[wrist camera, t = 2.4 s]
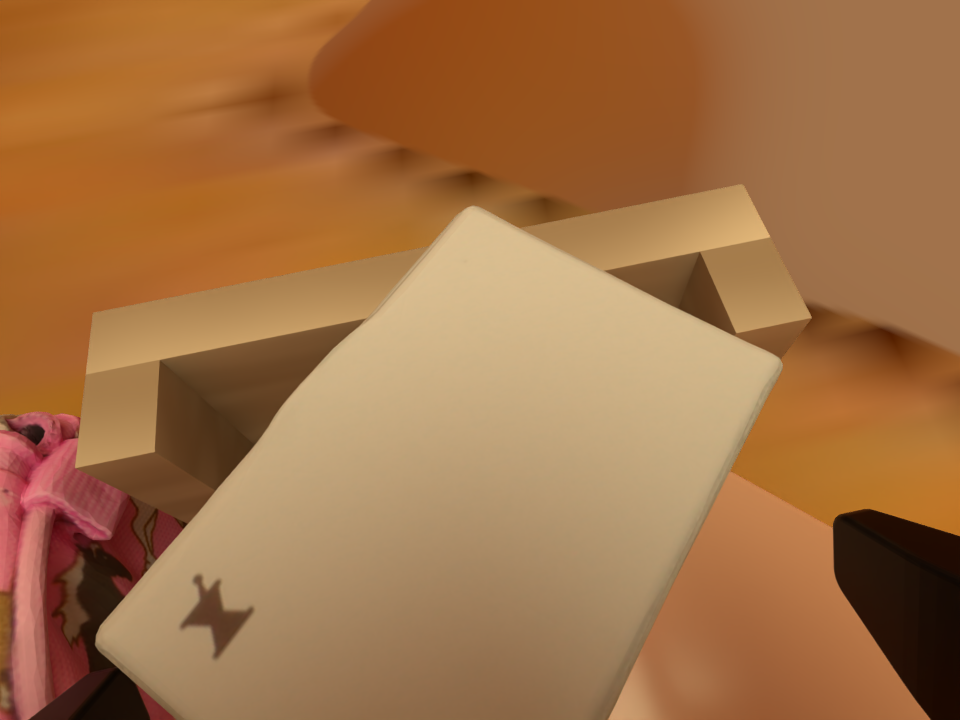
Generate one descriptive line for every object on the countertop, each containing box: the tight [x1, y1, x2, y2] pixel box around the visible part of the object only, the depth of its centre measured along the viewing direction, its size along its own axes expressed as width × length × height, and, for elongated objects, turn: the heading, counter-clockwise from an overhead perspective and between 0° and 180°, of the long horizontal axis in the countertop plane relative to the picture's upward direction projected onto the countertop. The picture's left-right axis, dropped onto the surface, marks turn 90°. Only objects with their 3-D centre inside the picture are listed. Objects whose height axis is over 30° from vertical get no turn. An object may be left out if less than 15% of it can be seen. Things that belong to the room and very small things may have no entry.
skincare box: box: [95, 206, 783, 720], centre depth 11 cm, size 6×4×12 cm
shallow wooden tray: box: [75, 184, 812, 524], centre depth 14 cm, size 3×11×9 cm, turn 101°
